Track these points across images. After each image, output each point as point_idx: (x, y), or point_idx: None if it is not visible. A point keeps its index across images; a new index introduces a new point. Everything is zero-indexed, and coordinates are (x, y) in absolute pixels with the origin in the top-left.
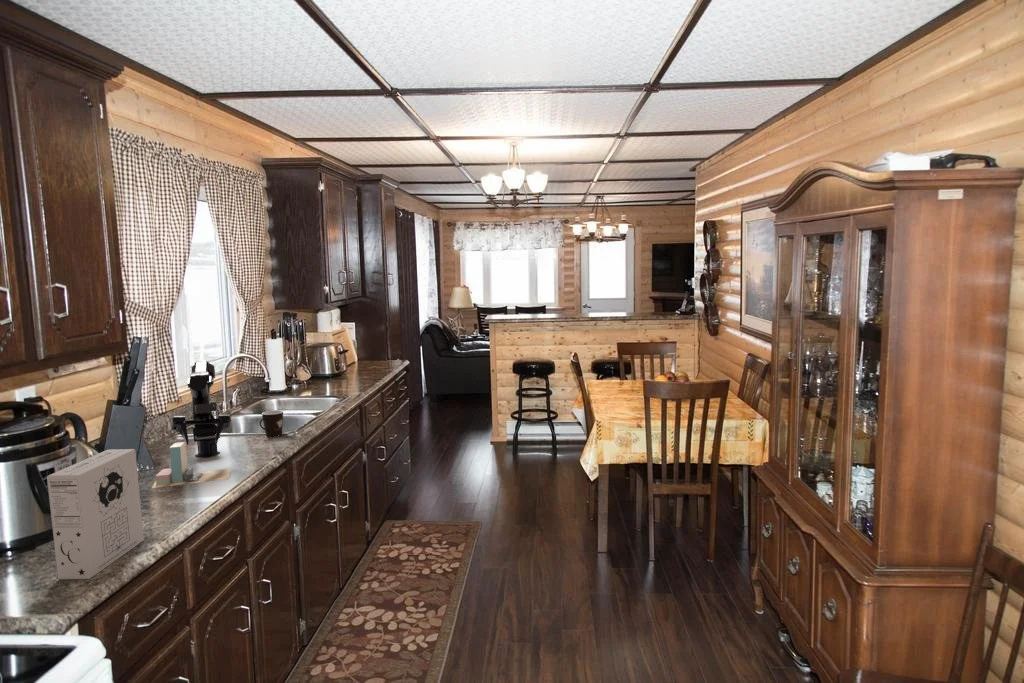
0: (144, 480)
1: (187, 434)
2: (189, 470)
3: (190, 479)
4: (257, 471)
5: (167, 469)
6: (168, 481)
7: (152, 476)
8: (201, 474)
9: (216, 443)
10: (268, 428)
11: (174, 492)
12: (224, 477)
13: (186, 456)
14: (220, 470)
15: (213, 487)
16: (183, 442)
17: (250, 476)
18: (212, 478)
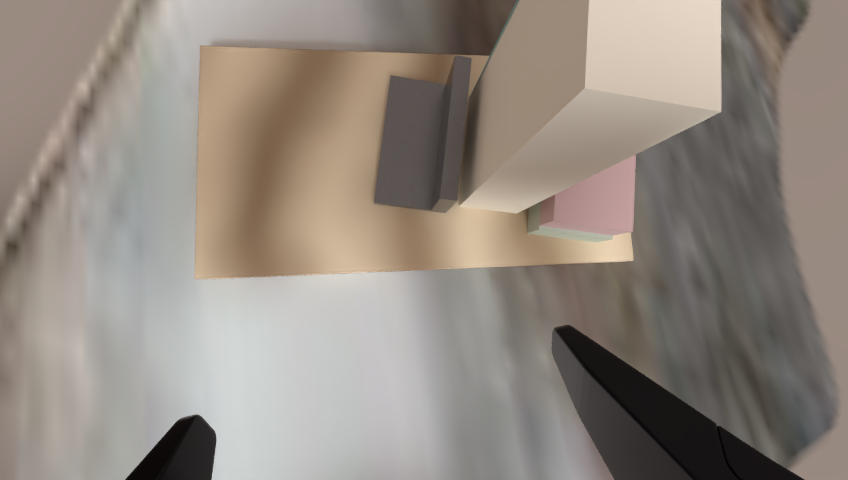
0: (691, 295)
1: (659, 443)
2: (448, 119)
3: (431, 102)
4: (18, 217)
5: (602, 204)
6: None
7: (671, 362)
8: (379, 182)
9: (206, 430)
10: None
11: (486, 11)
12: (228, 81)
13: (503, 159)
14: (266, 257)
15: (293, 3)
16: (604, 64)
17: (72, 121)
18: (303, 94)
